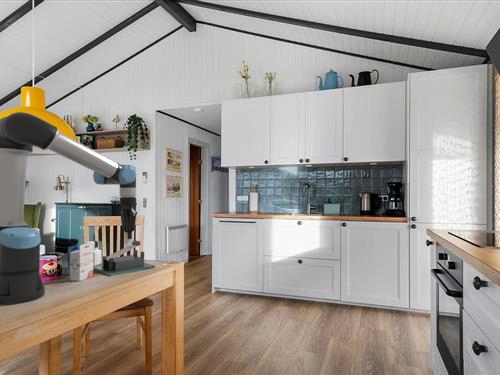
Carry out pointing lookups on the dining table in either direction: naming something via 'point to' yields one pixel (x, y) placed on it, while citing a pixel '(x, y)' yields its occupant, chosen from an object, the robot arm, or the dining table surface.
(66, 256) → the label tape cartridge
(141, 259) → the green fixture base plate
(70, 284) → the dining table surface
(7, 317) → the dining table surface
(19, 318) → the dining table surface
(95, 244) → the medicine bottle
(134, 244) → the steel strap
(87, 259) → the ink cartridge box
